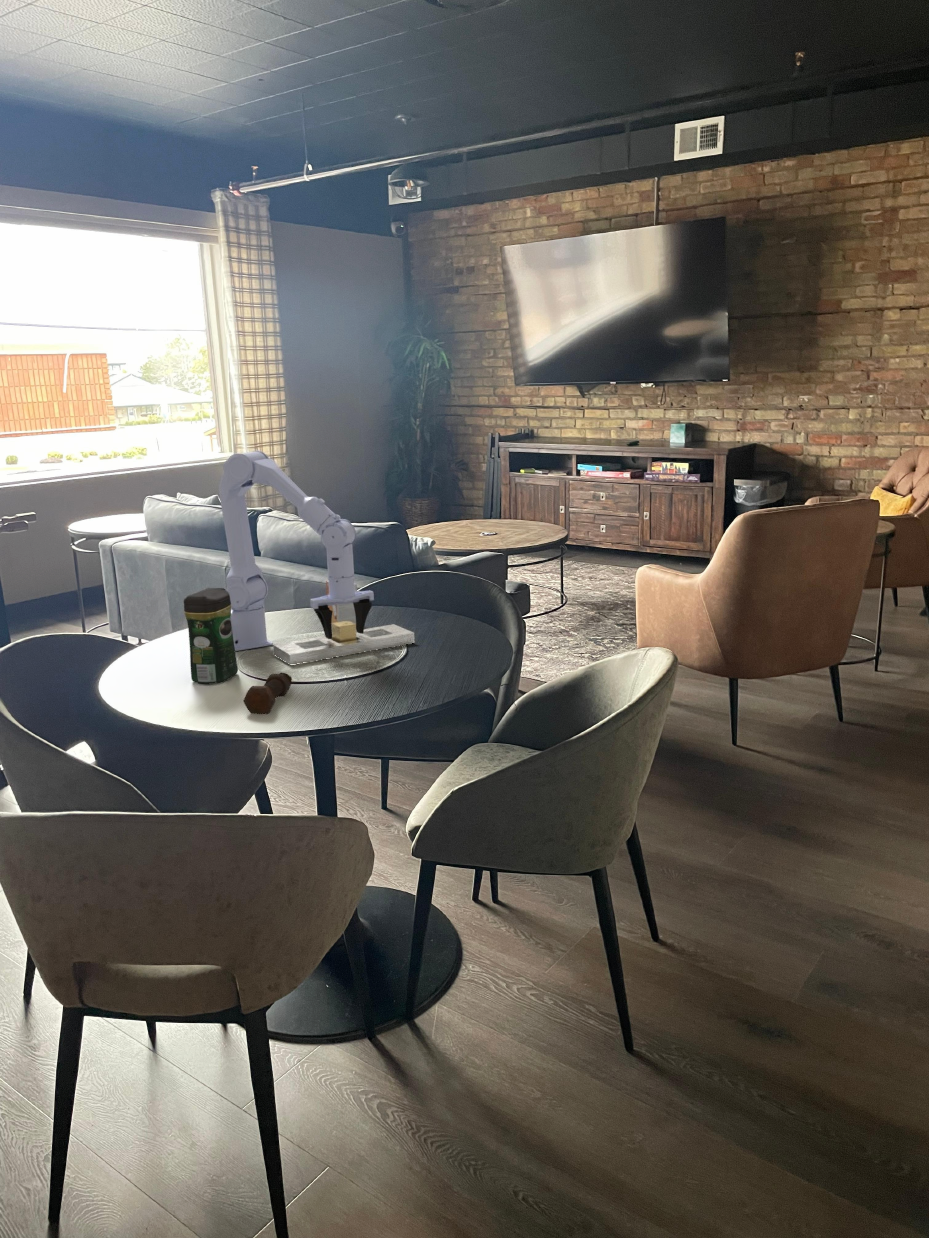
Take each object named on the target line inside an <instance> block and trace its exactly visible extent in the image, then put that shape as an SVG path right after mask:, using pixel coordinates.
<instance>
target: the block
mask: <svg viewBox="0 0 929 1238" xmlns="http://www.w3.org/2000/svg"><path fill="white" fill-rule="evenodd" d="M331 626H332V637H333V641H335V642H337V643H343V642H349V641H354V640H356V631H357V630H356V624H355V623H352V622H350V621H342V622H336V623H332V622H331Z"/></svg>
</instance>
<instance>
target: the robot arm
mask: <svg viewBox="0 0 929 1238" xmlns="http://www.w3.org/2000/svg"><path fill="white" fill-rule="evenodd" d="M222 469H223V472H222V476H221V479H220V483H219V485H218V493H219V500H220V506H221V507H220V508H221V512H222V518H223V525H224V526H223V527H224V531H225V532H224V533H225V537H226V544H227V549H228V550H227V551H228V555H229V557H228V558H229V563H230V569H229V571H228V574H227V575H226V578H225V579H226V581H225V582H226V589H225V590H226V591H227V592H228V593H229V595H230V600H231V625H232V633H233V640H234V647H235V652H238V651H244V650H249V649H257V648H262V647H268V646H273V645H274V642H272V641H271V640H269V639H268V637H267V624H266V613H265V611H266V610H265V599H266V597H267V596H268V593H269V586H268V583H267V581H266V580H265V577H264V576H263V570H262V569H261V567H260V566H259V565H258V564H256V559H255V554H254V547H253V540H252V534H251V528H250V527H251V526H250V520H249V515H248V508H247V501H246V494H247V493H248V492H249V490H251V488H252V487H254V485H255V484H257V485H258V484H259V485H266V486H270V487H271V488H272V489H273V490H275V491H276V492H277V493H278V494H280V495H281V497H283V498H285V500H287V501H288V502H289V503H291V504H292V505H293V506H295V508H297V515H298V517H299V518H300V519H301V520H302V521H303V522H305V524H306V525H308V526H309V527H310V528H311V529H312V530H314V532H315V533H316V534H318V535H319V536H320V540H321V543H322V544H323V545H322V546H324V547H325V549H326V563H327V565H326V566H327V579H328V580H327V581H328V583H329V595H327V594H326V595H322V596H319V597H314V598H310V599H309V600H310V601H309V602H310V603H309V604H310V605H309V606H310V608H311V609H313V611H314V612H315V614H316V616H317V618H318V619H319V622H320V623H321V626H322V629H323V632H324V636H325V637H326V638H328V639H332V622H331V621H332V612H333V611H332V610H330V609H329V608H328V606H332V605H339V604H346V603H352V602H353V605H354V610H355V616H356V631H357V632H358V633H360V634H363V631H364V629H365V624H366V620H367V618H368V615H369V613H370V610H371V609H372V607H373V602H372V601H375V597H374V596H375V594H374V591H373V590H361V591H360V590H357V592H355V584H356V583H355V569H354V568H355V567H354V553H353V549H354V548H353V542H354V540H355V539H356V529H355V526H354V525H353V524H352V522H351V521H350V520H349V519H345V518H341V516H340V515H339V514H336V513H335V512H333V510H331V509H330V508H329V507H328V506H327V505H326V504H325V503H326V501H325V500H324V499H323V498H318V497H317V496H308V495H307V494H306V493H305V492H304V491H303V490H302V489H301V488H300V487H299V486H298V485H297V484H296V483H295V482H294V481H293V480H292V479H291V478H290V477H289V476H288V475H287V474H286V473H285V472H284V471H283V470H282V469H281V468H280V467H279V465H278V464H277V462H276V461H275V460H274V459H272V458H270V457H269V456H268V455H267V454H266V453H265V452H263V451H262V450H253V451H252V450H251V451H249V452H243V453H241V452H236V453H233V454H231V455H230V457H228V458H227V459H226V461H225V462H224V463H223V464H222Z"/></svg>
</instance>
